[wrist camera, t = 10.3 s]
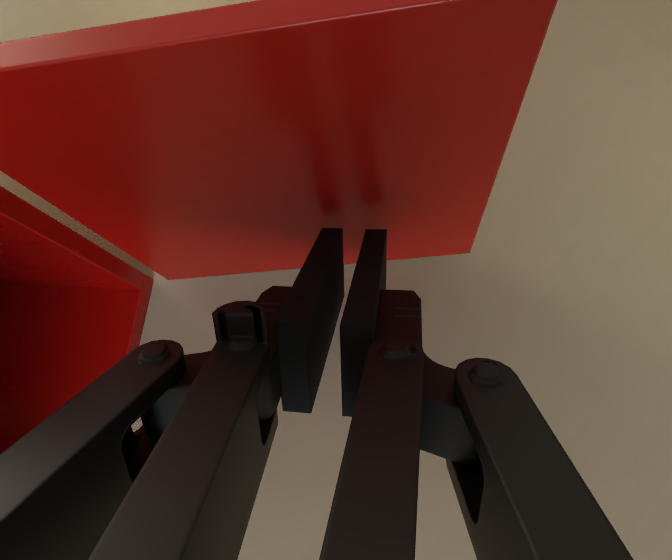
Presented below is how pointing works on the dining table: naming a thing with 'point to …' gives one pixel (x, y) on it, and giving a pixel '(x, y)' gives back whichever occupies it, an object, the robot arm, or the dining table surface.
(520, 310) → the dining table surface
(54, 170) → the door
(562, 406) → the dining table surface
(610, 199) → the dining table surface
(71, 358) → the cabinet
